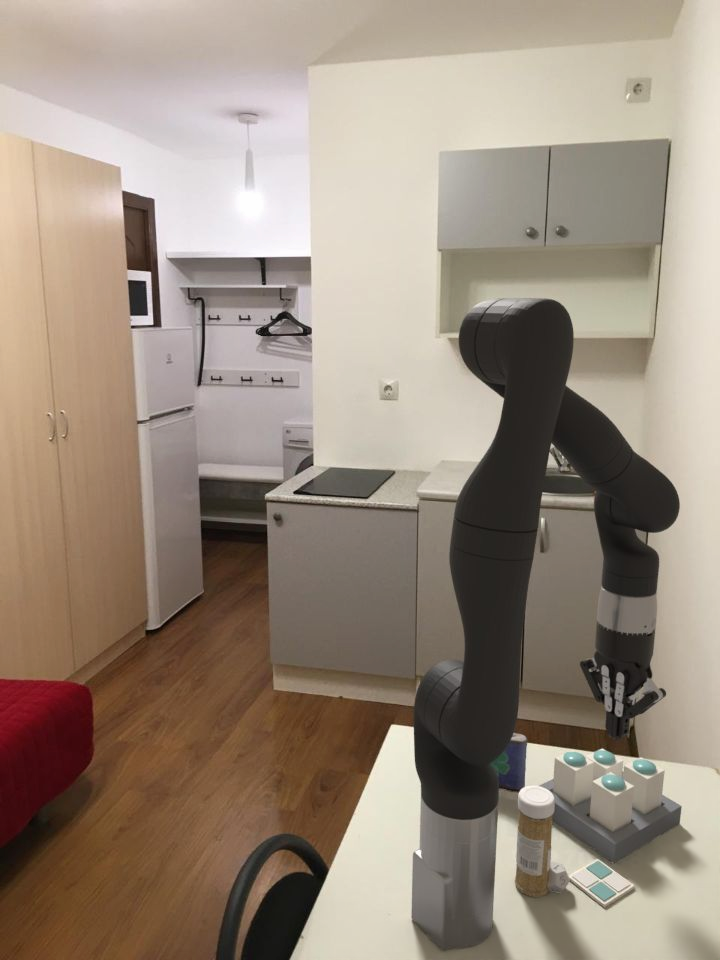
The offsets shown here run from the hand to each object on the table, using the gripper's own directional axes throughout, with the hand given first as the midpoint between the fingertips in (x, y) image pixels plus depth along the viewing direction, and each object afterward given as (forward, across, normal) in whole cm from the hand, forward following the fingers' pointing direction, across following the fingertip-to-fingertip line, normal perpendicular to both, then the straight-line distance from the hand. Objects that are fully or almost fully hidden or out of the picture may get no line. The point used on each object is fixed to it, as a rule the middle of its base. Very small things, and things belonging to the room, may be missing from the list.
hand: (616, 736), depth 106 cm
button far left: (+16, -7, +7) cm, 18 cm away
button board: (+16, -3, +4) cm, 17 cm away
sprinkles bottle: (+16, +1, -16) cm, 23 cm away
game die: (+16, +3, -14) cm, 22 cm away
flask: (+16, -18, -4) cm, 25 cm away
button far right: (+13, 0, +7) cm, 15 cm away
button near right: (+13, 0, 0) cm, 13 cm away
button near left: (+13, -7, 0) cm, 15 cm away
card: (+16, +6, -8) cm, 19 cm away
